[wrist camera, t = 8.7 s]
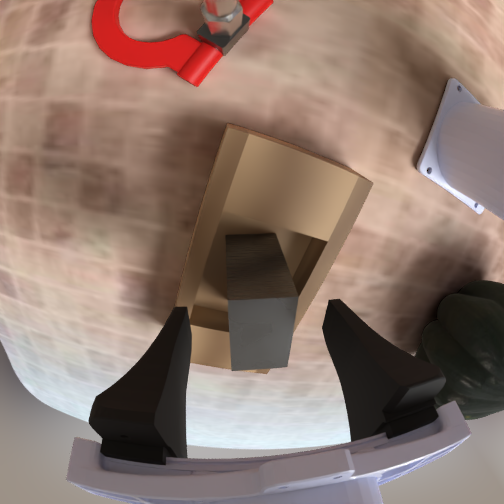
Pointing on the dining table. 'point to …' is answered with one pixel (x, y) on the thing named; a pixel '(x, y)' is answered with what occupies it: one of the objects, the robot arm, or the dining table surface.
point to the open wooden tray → (264, 227)
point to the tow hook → (178, 38)
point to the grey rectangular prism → (259, 302)
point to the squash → (469, 348)
